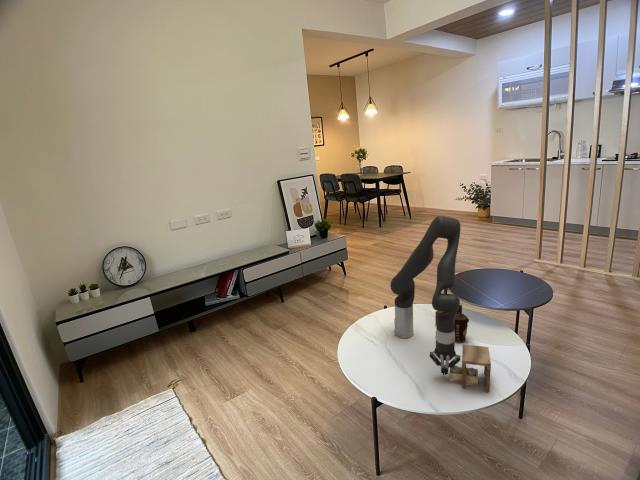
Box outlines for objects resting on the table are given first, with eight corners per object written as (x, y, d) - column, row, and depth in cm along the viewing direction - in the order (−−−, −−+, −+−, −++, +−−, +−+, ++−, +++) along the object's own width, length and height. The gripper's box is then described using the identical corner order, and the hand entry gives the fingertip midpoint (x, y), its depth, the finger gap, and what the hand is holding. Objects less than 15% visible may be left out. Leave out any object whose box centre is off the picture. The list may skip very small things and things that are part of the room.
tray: (449, 382, 149) (449, 370, 148) (449, 373, 154) (449, 362, 153) (477, 386, 145) (478, 374, 144) (477, 377, 150) (477, 365, 149)
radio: (457, 316, 200) (458, 292, 195) (461, 319, 197) (462, 294, 193) (432, 326, 192) (432, 301, 188) (436, 328, 190) (436, 303, 185)
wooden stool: (462, 388, 145) (463, 360, 141) (462, 370, 155) (462, 344, 152) (489, 392, 141) (490, 364, 137) (487, 373, 152) (488, 347, 148)
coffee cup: (465, 334, 182) (466, 312, 178) (470, 344, 174) (471, 320, 170) (448, 335, 183) (448, 312, 179) (452, 344, 175) (452, 320, 171)
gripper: (462, 335, 148) (461, 371, 153) (429, 331, 153) (429, 366, 158) (462, 345, 141) (461, 382, 146) (427, 341, 146) (427, 377, 151)
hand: (444, 373), depth 152 cm, fingers closed
